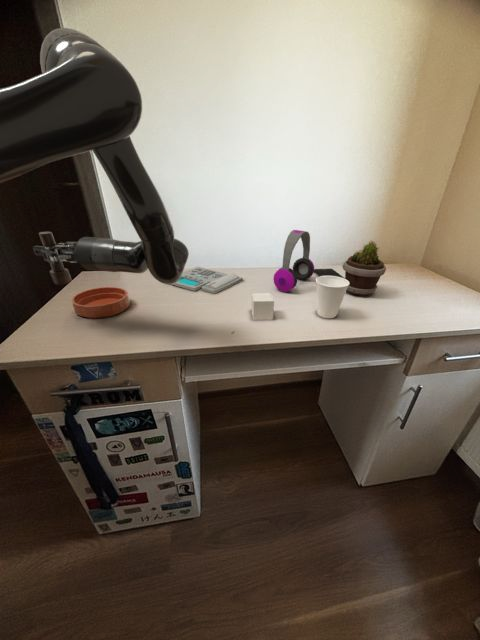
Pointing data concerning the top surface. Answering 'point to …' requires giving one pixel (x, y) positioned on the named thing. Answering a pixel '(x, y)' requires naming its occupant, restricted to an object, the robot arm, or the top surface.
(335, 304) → the cup
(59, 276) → the muddler
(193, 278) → the office telephone
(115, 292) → the bowl
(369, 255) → the flowerpot
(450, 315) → the top surface
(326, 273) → the cell phone
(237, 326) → the top surface
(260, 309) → the white cube
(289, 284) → the headphones
